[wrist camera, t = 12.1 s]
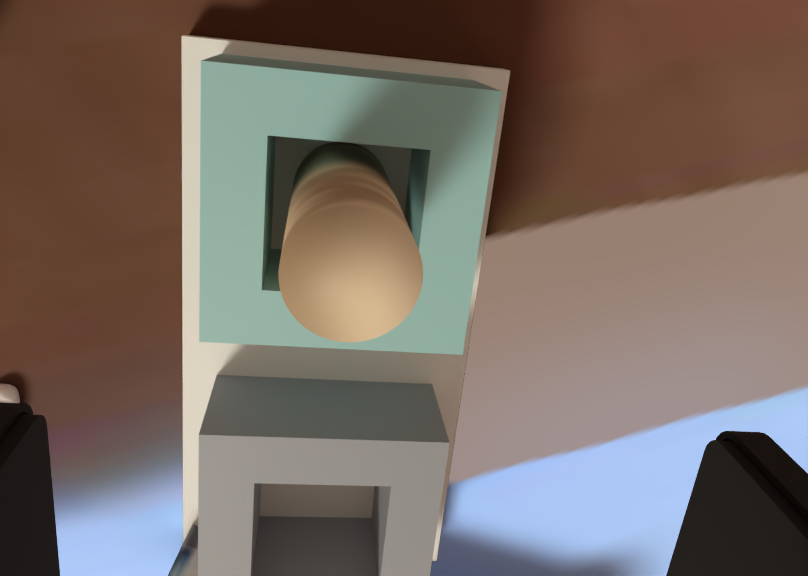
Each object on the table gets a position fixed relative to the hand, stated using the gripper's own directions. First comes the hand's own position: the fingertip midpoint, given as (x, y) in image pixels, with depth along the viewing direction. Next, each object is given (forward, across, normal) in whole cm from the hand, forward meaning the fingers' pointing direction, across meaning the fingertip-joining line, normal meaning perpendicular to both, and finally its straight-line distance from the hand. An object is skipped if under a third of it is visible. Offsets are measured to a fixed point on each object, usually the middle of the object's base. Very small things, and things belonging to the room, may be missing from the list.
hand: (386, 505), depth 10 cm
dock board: (+23, 0, +8) cm, 24 cm away
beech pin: (+21, 0, +1) cm, 21 cm away
